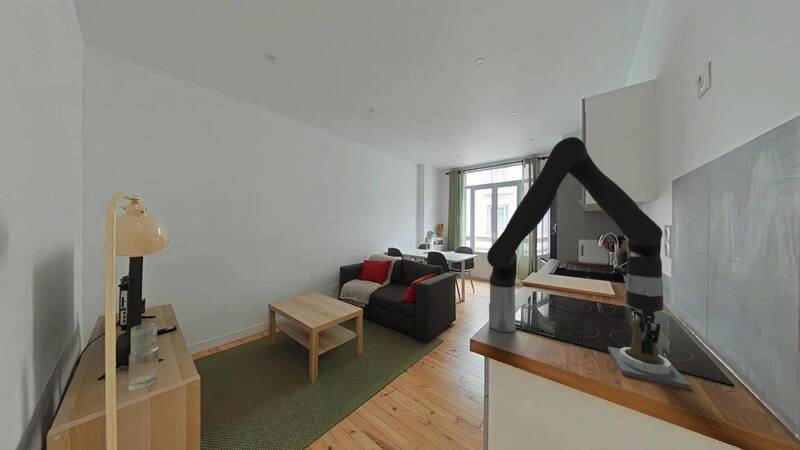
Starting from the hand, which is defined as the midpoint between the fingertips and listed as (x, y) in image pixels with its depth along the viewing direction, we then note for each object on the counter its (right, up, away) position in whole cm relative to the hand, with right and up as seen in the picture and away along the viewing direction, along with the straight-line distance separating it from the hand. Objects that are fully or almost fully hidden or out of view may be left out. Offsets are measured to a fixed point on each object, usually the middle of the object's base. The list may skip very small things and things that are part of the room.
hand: (643, 350), depth 69 cm
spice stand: (0, -5, 0) cm, 5 cm away
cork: (0, -2, 0) cm, 2 cm away
